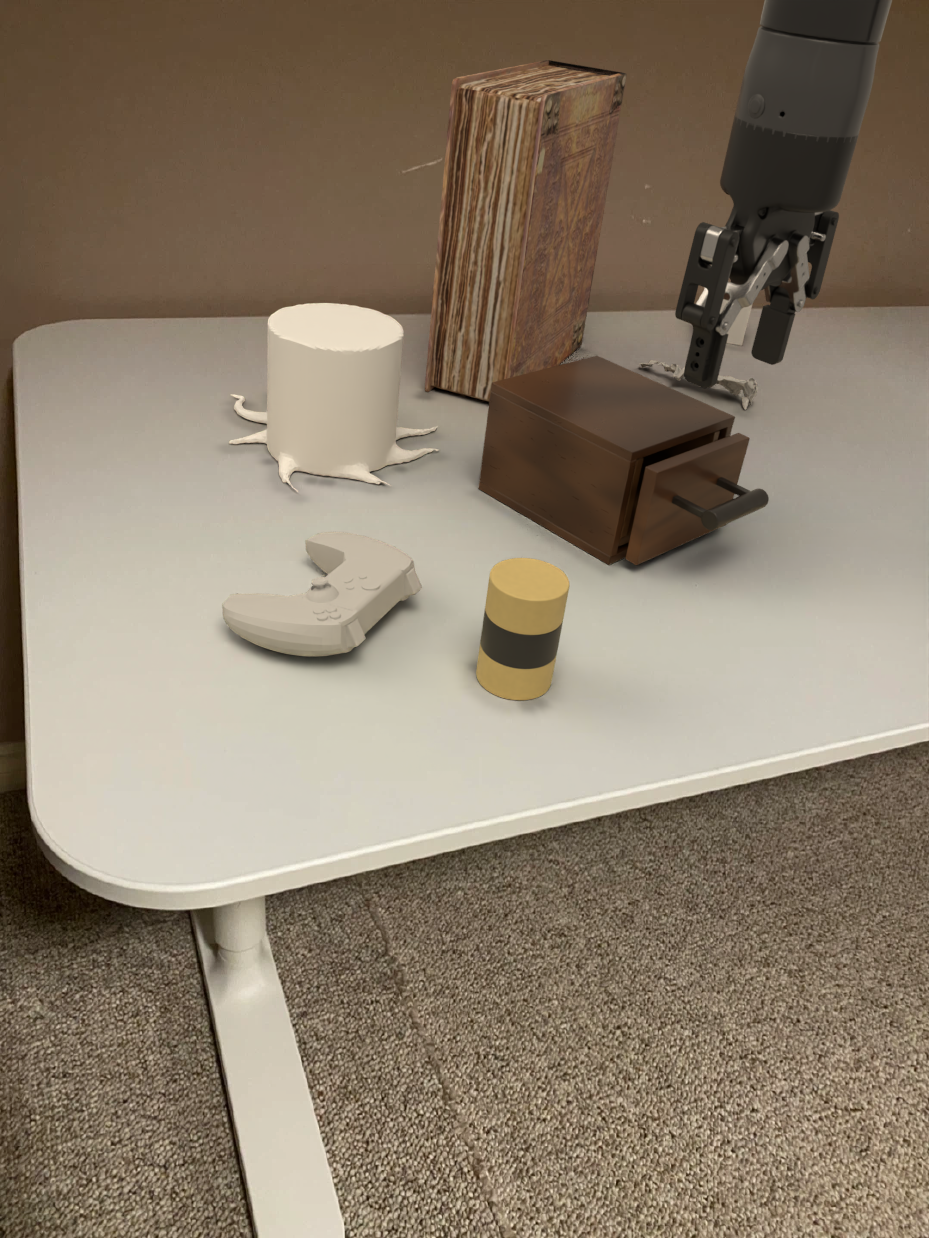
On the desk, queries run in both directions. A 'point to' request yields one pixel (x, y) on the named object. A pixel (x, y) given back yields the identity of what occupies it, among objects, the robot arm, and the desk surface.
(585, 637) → the desk surface
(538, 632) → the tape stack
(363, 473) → the tree stump
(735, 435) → the drawer
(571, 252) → the book
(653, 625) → the desk surface
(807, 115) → the robot arm
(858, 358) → the desk surface
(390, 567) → the game controller
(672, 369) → the grey figurine
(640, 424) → the cabinet
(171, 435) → the desk surface
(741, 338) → the beige rectangular block
